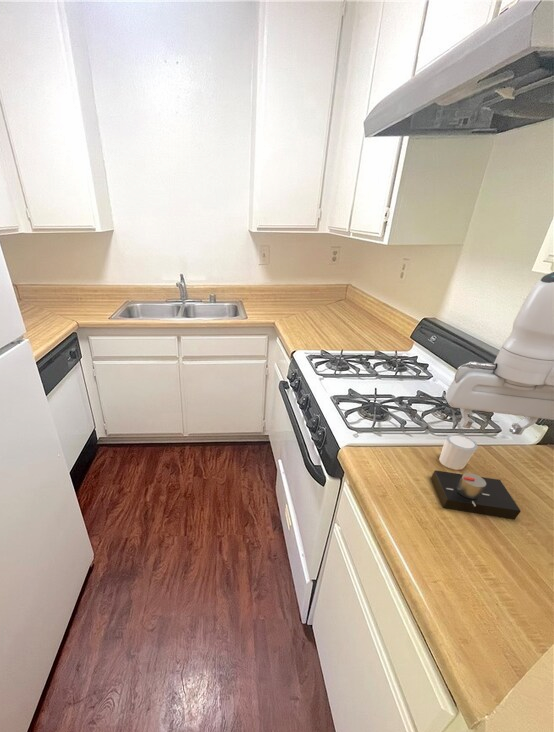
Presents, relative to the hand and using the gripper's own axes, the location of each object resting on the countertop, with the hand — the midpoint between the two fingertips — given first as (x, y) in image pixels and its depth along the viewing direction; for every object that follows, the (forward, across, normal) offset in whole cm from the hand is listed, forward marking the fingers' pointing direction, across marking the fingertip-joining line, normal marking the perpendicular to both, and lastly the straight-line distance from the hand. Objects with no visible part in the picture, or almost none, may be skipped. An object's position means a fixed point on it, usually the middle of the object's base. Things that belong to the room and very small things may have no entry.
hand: (489, 429), depth 71 cm
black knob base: (+16, +2, -3) cm, 17 cm away
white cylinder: (+17, +2, +10) cm, 20 cm away
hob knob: (+13, 0, -4) cm, 14 cm away
